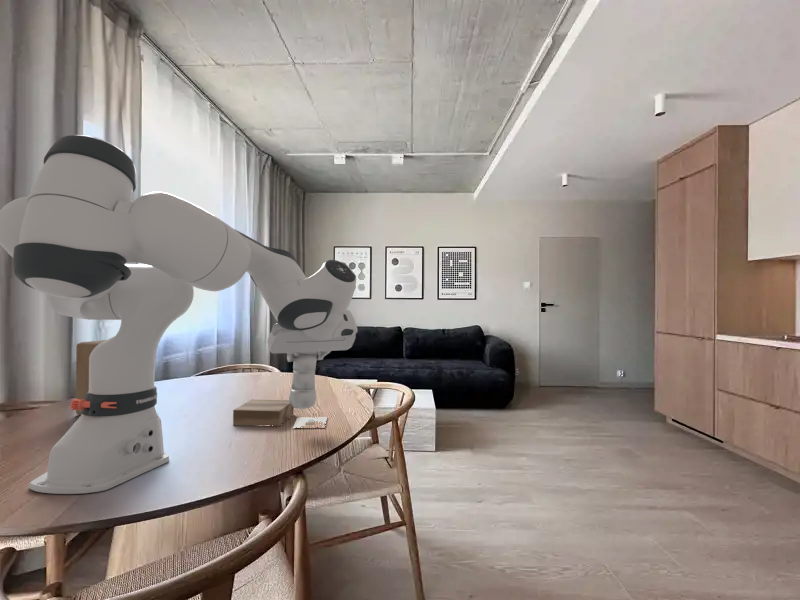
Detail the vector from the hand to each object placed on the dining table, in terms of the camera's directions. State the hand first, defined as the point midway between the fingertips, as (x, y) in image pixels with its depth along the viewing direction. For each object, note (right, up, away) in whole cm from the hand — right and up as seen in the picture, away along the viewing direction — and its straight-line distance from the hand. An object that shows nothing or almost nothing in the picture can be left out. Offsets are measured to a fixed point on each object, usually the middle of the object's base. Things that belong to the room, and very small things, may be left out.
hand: (304, 358), depth 110 cm
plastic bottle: (0, -12, -1) cm, 12 cm away
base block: (-13, -18, +10) cm, 24 cm away
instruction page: (0, -18, +7) cm, 19 cm away
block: (-59, -17, +16) cm, 64 cm away
